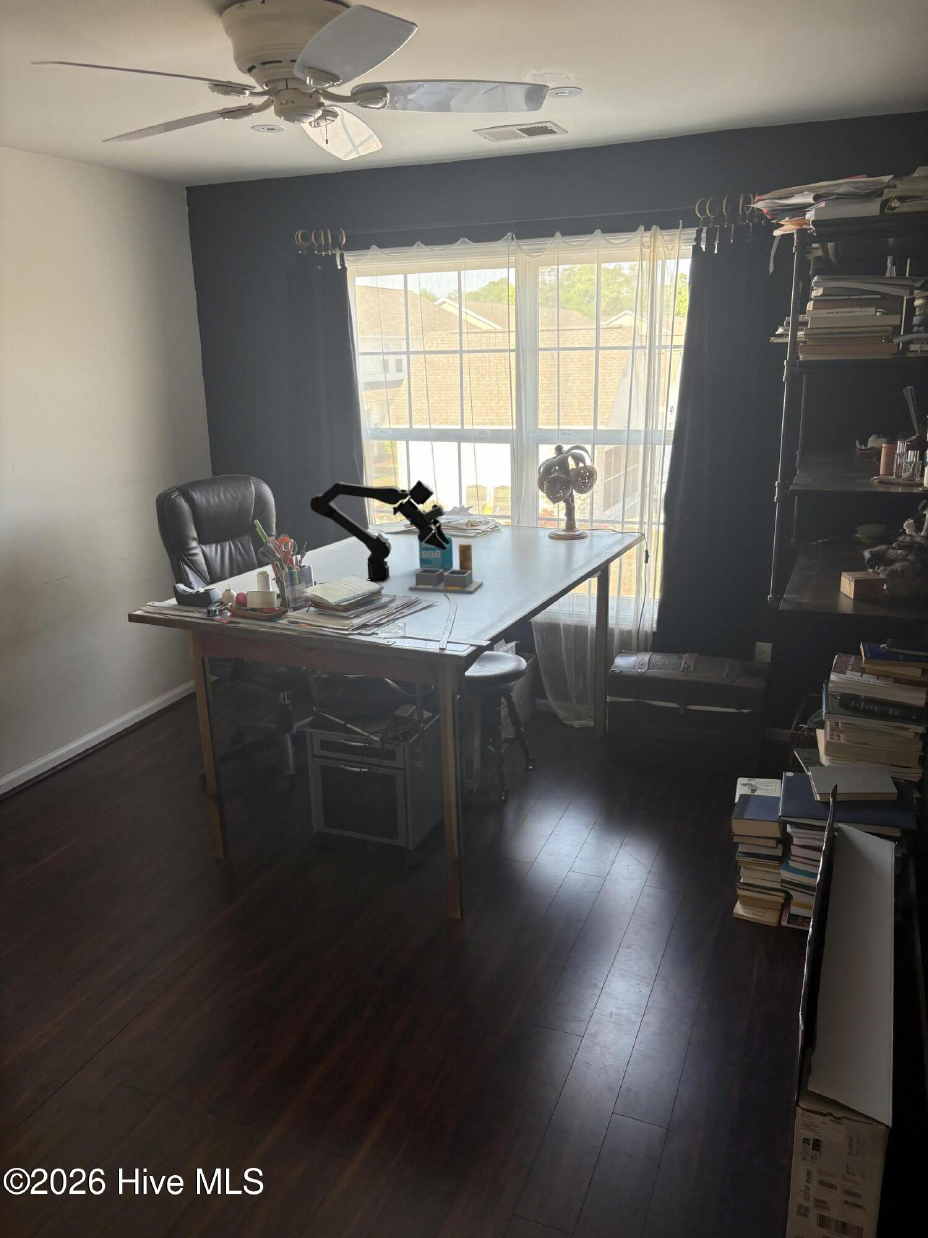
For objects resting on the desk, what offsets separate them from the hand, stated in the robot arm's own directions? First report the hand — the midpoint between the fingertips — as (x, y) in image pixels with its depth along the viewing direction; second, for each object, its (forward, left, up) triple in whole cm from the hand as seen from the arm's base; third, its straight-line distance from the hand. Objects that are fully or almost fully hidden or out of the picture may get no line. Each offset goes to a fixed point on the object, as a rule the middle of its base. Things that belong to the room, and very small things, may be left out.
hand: (447, 546), depth 307 cm
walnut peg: (+6, +1, -11) cm, 13 cm away
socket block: (+3, -12, -11) cm, 17 cm away
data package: (-9, +13, -12) cm, 20 cm away
